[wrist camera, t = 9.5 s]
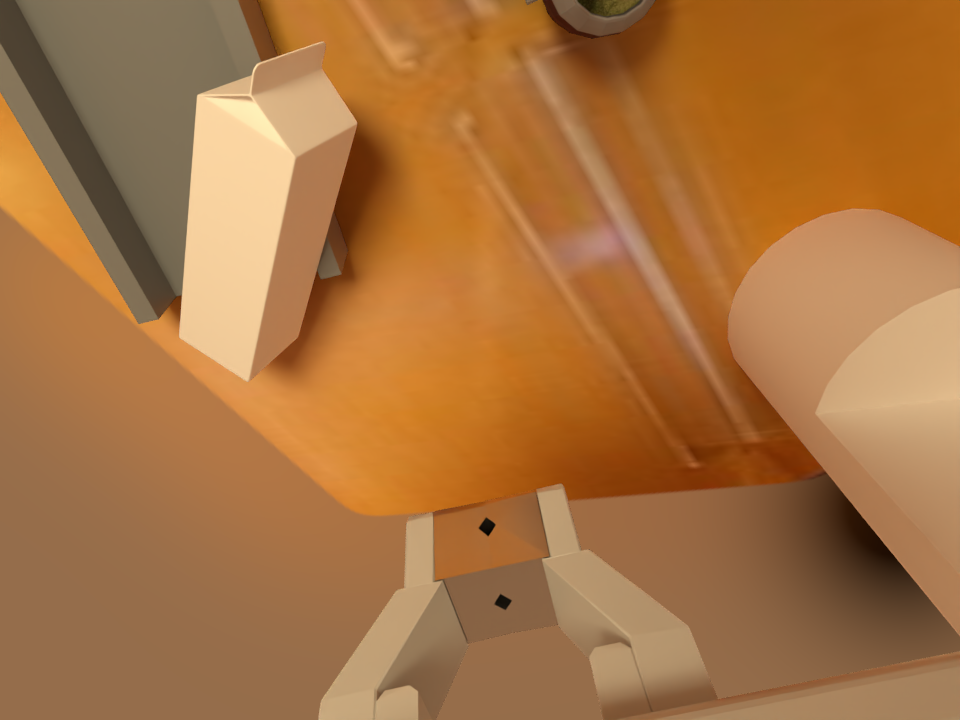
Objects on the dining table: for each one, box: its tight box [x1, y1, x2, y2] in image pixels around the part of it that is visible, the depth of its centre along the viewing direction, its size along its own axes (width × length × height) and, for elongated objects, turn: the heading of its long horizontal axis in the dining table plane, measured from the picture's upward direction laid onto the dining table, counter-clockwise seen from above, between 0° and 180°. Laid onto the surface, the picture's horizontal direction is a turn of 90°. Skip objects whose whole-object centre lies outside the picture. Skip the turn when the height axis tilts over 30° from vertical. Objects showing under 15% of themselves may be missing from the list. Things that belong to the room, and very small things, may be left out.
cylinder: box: [728, 209, 960, 636], centre depth 41 cm, size 17×17×28 cm
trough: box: [0, 0, 348, 324], centre depth 38 cm, size 28×15×4 cm, turn 13°
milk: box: [179, 41, 357, 382], centre depth 38 cm, size 6×6×22 cm
